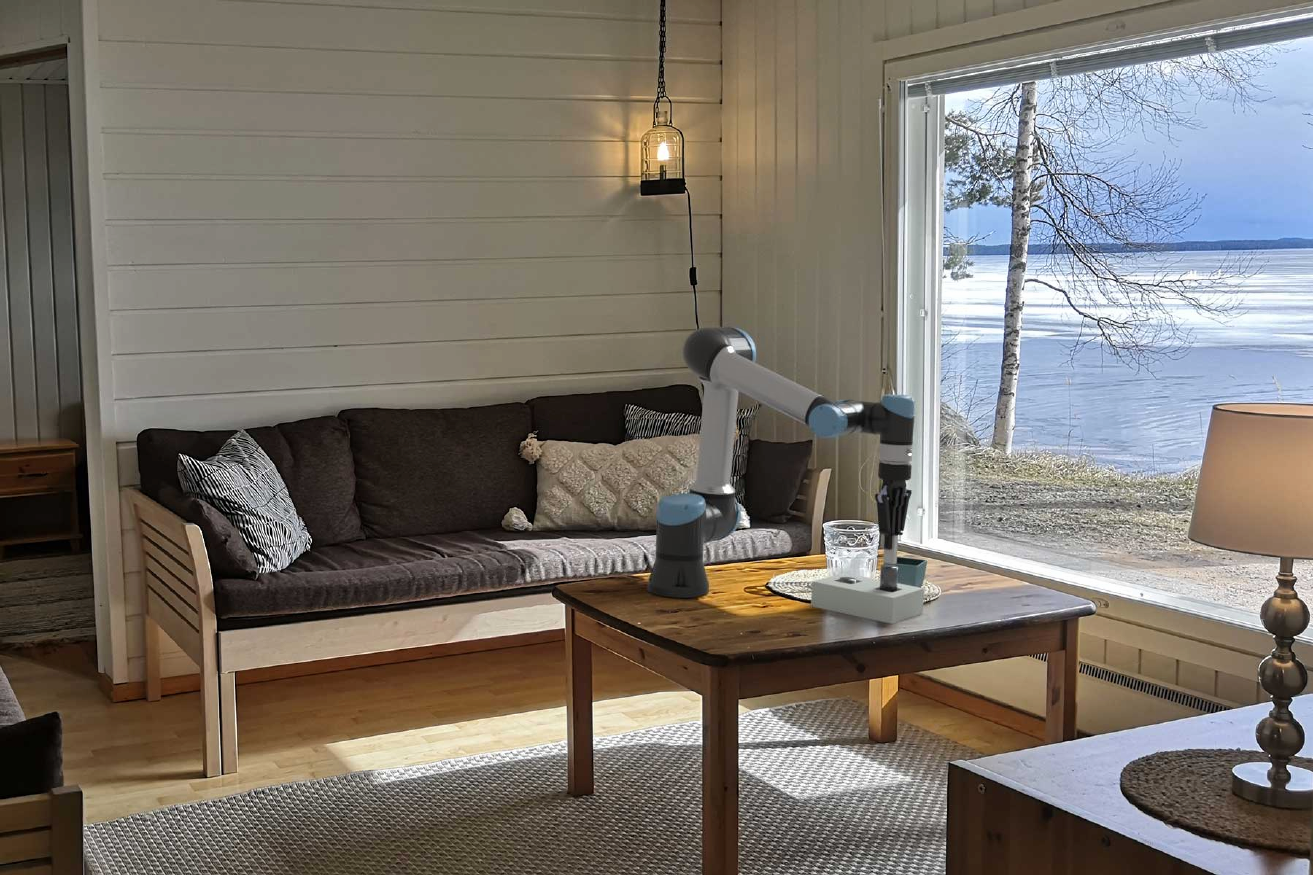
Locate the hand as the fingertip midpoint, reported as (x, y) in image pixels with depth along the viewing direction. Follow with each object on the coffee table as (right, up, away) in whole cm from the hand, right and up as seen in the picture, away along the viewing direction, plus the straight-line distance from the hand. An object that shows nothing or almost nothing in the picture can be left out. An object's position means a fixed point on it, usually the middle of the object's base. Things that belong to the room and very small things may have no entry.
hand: (889, 562), depth 302 cm
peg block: (-5, -12, +5) cm, 13 cm away
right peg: (0, -7, +1) cm, 7 cm away
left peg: (-9, -11, +8) cm, 16 cm away
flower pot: (+7, -11, +20) cm, 24 cm away
